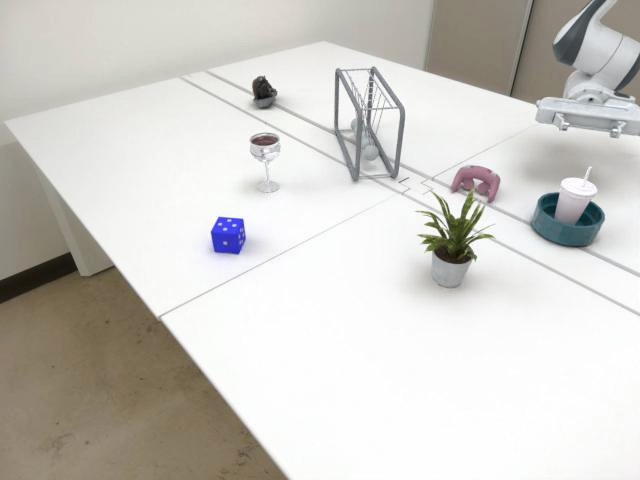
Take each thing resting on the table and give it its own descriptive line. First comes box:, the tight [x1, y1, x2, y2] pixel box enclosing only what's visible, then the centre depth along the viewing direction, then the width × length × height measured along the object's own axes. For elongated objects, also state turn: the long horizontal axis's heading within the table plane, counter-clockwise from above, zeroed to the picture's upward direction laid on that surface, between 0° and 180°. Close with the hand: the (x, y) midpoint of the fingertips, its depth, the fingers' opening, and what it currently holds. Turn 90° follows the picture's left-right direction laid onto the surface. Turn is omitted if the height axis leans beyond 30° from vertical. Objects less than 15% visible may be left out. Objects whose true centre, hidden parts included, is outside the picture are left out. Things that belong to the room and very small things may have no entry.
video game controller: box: [450, 164, 502, 203], centre depth 102 cm, size 10×5×7 cm, turn 59°
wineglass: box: [248, 131, 282, 193], centre depth 102 cm, size 7×7×12 cm
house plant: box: [414, 186, 497, 289], centre depth 78 cm, size 14×14×16 cm
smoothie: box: [554, 165, 598, 226], centre depth 88 cm, size 6×6×14 cm
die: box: [210, 216, 247, 255], centre depth 88 cm, size 5×5×5 cm
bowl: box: [530, 191, 606, 247], centre depth 92 cm, size 12×12×5 cm
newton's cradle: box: [333, 65, 406, 181], centre depth 113 cm, size 30×10×18 cm, turn 8°
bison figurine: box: [251, 75, 278, 108], centre depth 141 cm, size 12×7×10 cm, turn 178°
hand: (589, 131), depth 92 cm, fingers open, 8 cm apart
